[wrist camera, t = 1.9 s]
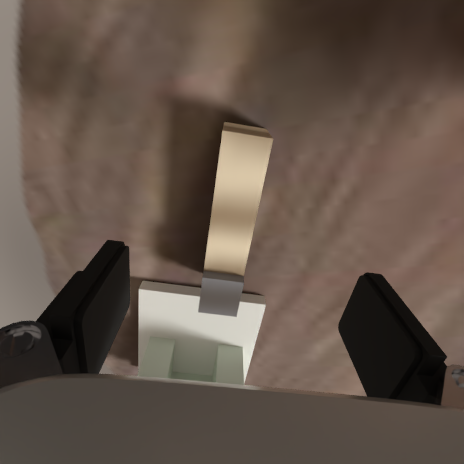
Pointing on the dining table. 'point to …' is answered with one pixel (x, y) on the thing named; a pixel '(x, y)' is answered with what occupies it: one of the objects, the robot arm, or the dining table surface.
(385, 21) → the dining table surface
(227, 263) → the rail
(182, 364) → the slotted block on base
